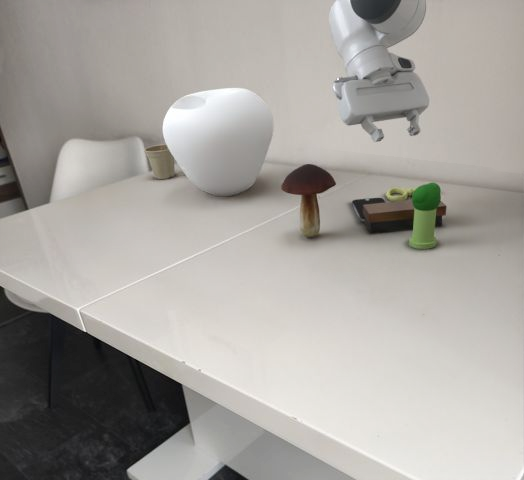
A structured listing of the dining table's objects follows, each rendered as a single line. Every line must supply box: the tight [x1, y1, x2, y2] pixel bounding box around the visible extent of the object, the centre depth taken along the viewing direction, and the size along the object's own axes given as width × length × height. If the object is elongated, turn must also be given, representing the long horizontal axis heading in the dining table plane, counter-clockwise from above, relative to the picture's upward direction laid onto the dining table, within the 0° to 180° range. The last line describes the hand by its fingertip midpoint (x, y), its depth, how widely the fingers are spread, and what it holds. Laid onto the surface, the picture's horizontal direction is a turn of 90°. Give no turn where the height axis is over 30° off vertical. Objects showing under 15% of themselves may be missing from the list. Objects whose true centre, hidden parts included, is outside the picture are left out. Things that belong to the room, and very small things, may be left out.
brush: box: [363, 199, 448, 234], centre depth 114 cm, size 16×6×4 cm, turn 93°
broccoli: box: [408, 182, 442, 250], centre depth 103 cm, size 6×5×12 cm
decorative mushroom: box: [280, 163, 337, 239], centre depth 110 cm, size 11×11×15 cm
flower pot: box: [143, 143, 176, 180], centre depth 164 cm, size 9×9×9 cm
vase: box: [162, 87, 274, 197], centre depth 141 cm, size 28×27×25 cm
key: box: [385, 187, 417, 202], centre depth 131 cm, size 7×12×2 cm, turn 110°
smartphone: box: [351, 197, 386, 224], centre depth 124 cm, size 8×1×15 cm
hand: (397, 137), depth 106 cm, fingers open, 8 cm apart
